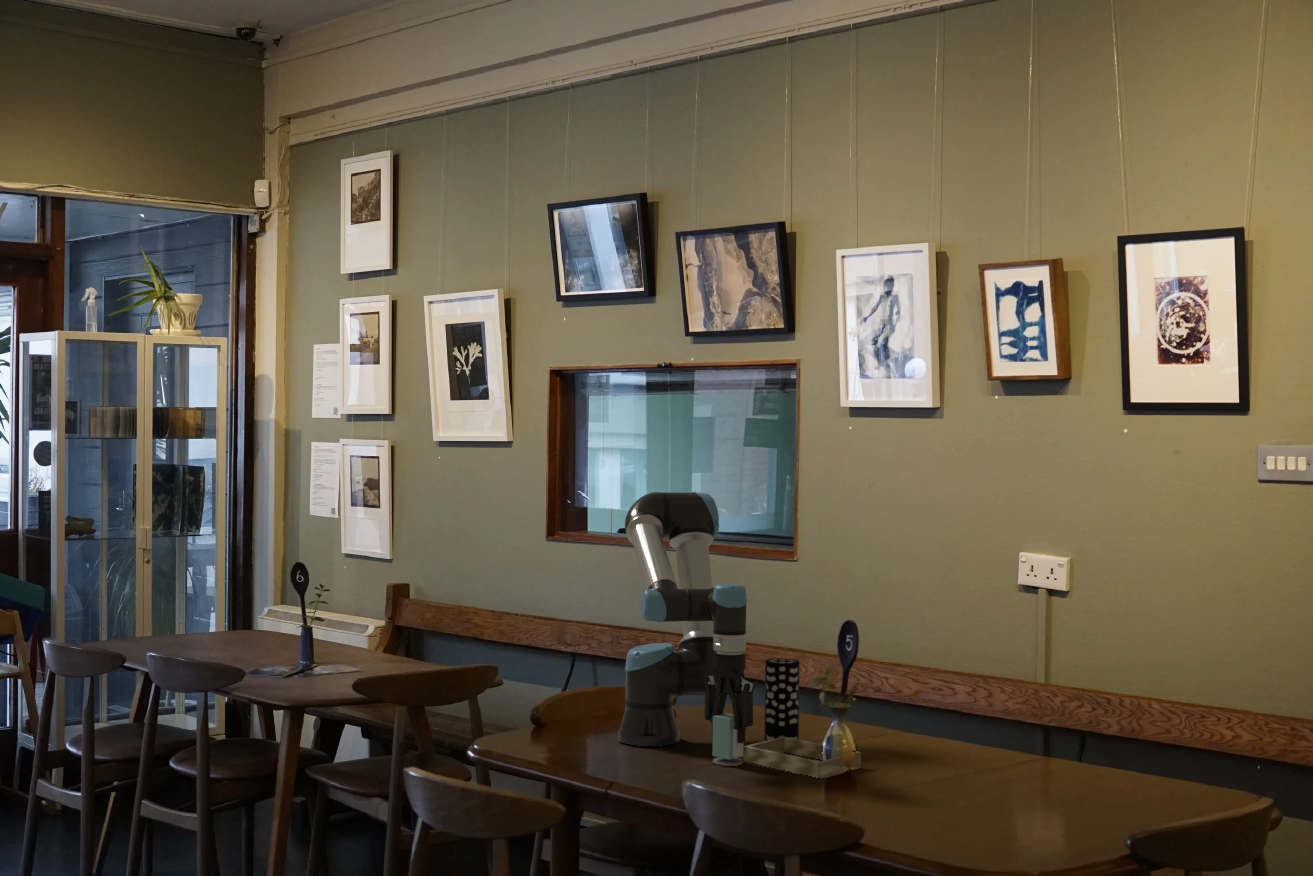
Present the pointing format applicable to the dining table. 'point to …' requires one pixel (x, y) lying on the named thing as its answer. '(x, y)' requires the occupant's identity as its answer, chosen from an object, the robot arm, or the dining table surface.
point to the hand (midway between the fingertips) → (728, 754)
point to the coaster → (727, 761)
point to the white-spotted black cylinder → (781, 698)
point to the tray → (773, 757)
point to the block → (723, 736)
